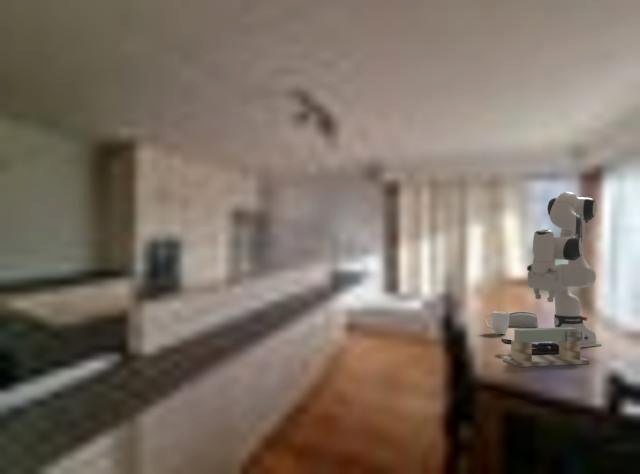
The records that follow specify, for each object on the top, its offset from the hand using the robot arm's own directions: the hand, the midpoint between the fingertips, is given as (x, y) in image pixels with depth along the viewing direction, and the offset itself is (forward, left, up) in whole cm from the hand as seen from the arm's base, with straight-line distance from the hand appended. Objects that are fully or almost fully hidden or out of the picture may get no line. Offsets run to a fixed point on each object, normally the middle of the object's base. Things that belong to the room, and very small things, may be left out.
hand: (544, 300), depth 243 cm
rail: (+1, +2, -17) cm, 17 cm away
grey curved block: (-35, -82, -26) cm, 93 cm away
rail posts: (+1, +2, -26) cm, 26 cm away
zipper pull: (0, -12, -26) cm, 29 cm away
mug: (-9, -62, -26) cm, 68 cm away
